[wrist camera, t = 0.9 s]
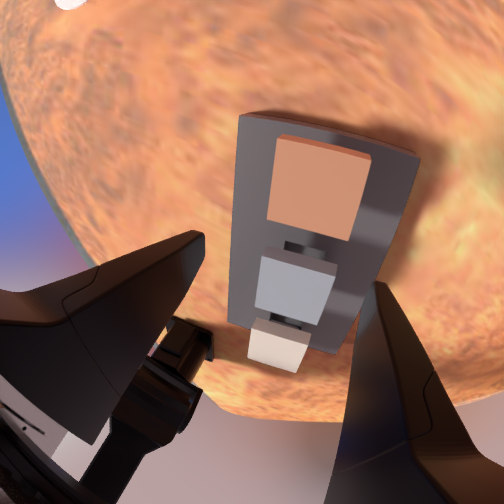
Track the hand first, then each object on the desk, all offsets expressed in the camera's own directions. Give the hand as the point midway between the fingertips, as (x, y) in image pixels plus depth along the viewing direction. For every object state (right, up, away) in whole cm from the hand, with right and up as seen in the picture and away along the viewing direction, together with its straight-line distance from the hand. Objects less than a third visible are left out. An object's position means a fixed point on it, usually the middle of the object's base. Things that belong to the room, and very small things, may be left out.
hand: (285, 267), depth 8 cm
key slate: (+2, -1, +11) cm, 11 cm away
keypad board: (+3, +1, +13) cm, 13 cm away
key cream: (+2, -6, +15) cm, 16 cm away
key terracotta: (+3, +5, +7) cm, 9 cm away
